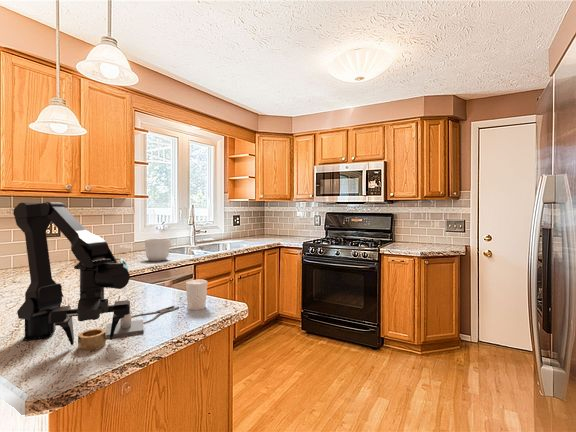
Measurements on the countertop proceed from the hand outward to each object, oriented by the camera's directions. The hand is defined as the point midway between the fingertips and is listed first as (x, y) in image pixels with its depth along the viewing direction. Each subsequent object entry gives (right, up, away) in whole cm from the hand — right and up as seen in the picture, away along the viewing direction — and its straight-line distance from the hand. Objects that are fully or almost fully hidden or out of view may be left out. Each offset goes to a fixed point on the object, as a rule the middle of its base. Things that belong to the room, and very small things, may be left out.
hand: (92, 341), depth 89 cm
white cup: (+19, -1, +35) cm, 40 cm away
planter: (-41, +2, +145) cm, 150 cm away
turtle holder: (-35, +1, +77) cm, 85 cm away
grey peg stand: (+3, -1, +12) cm, 12 cm away
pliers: (+5, -1, +27) cm, 27 cm away
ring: (0, -1, 0) cm, 1 cm away
